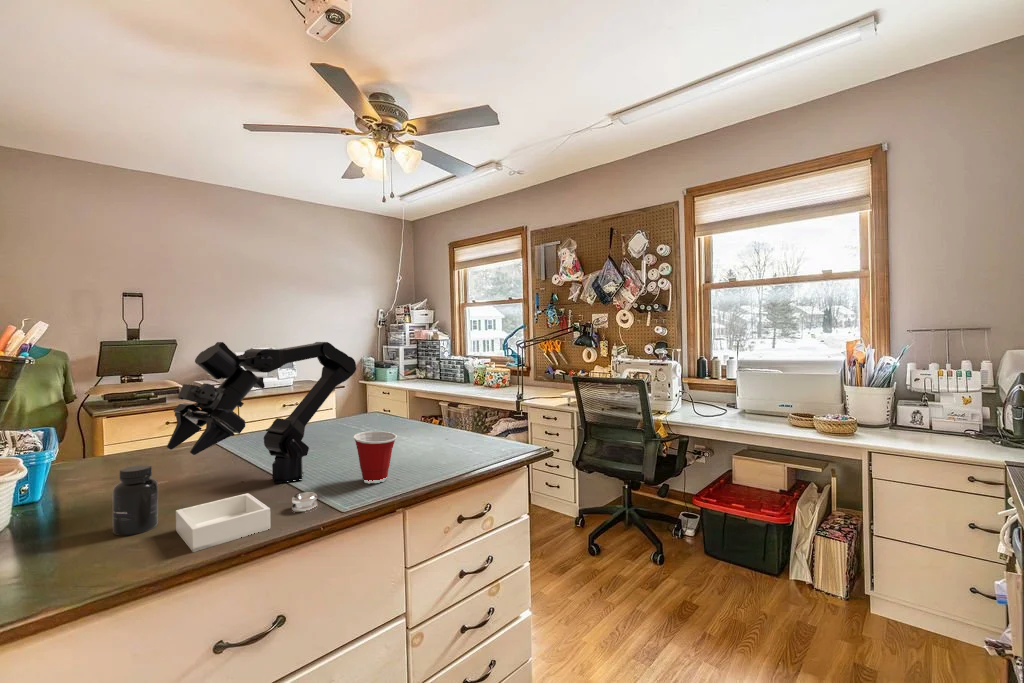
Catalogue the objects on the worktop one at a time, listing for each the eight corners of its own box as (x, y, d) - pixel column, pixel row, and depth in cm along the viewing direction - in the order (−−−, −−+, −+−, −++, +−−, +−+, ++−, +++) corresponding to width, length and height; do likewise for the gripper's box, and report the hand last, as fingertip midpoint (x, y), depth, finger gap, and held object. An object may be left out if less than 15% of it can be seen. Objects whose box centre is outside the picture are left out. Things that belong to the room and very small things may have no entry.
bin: (248, 511, 96) (248, 493, 96) (270, 528, 87) (270, 508, 87) (176, 530, 87) (175, 510, 86) (193, 552, 78) (192, 529, 78)
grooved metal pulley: (320, 504, 100) (297, 504, 100) (320, 490, 100) (297, 491, 100) (312, 512, 95) (288, 513, 95) (312, 499, 95) (287, 499, 95)
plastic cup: (381, 490, 109) (380, 441, 109) (344, 485, 112) (344, 437, 112) (405, 476, 119) (405, 431, 119) (371, 472, 123) (370, 428, 122)
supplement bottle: (107, 539, 83) (106, 475, 83) (119, 525, 89) (118, 465, 89) (154, 532, 86) (153, 470, 86) (162, 519, 92) (161, 461, 92)
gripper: (181, 368, 103) (124, 425, 94) (229, 371, 94) (171, 435, 85) (218, 397, 110) (169, 453, 101) (266, 402, 102) (216, 464, 92)
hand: (180, 451), depth 95 cm, fingers open, 9 cm apart
